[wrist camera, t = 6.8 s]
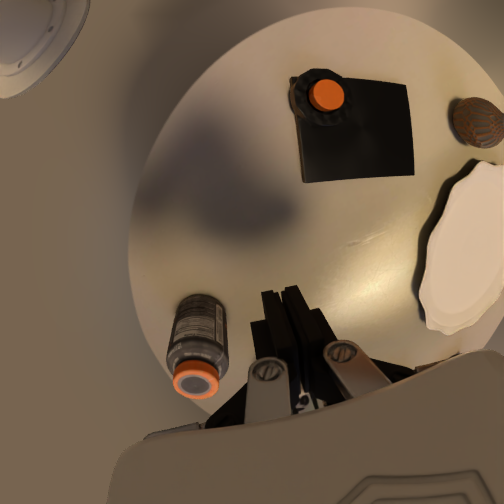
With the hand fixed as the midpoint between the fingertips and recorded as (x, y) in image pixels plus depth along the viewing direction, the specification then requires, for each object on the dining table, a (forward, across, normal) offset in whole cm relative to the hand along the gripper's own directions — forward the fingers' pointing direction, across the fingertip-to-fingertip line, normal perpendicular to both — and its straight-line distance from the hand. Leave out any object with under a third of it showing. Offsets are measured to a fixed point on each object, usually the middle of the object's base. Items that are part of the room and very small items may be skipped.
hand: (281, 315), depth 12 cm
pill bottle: (+17, +7, +10) cm, 21 cm away
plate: (+17, -36, +10) cm, 41 cm away
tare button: (+14, -9, -12) cm, 21 cm away
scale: (+16, -13, -9) cm, 23 cm away
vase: (+17, -31, -10) cm, 37 cm away
